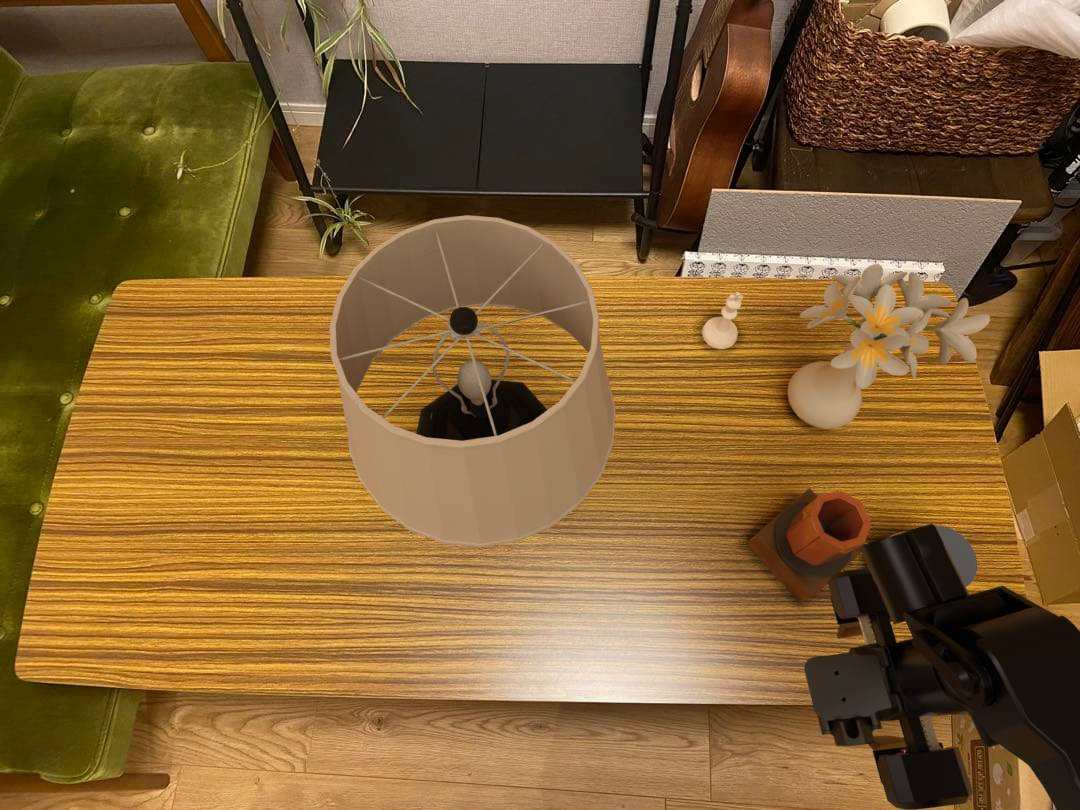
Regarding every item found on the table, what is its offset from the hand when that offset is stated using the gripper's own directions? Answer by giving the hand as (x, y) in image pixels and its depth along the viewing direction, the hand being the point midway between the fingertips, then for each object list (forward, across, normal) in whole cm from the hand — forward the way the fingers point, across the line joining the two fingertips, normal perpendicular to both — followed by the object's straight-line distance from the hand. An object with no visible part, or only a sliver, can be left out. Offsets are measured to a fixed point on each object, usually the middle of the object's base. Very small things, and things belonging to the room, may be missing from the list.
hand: (855, 686), depth 68 cm
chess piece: (+13, -47, 0) cm, 49 cm away
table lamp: (+13, -29, -33) cm, 46 cm away
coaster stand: (+13, -16, +3) cm, 21 cm away
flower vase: (+13, -35, +11) cm, 39 cm away
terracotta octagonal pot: (+7, -16, +3) cm, 18 cm away
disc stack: (+13, -12, +15) cm, 23 cm away
